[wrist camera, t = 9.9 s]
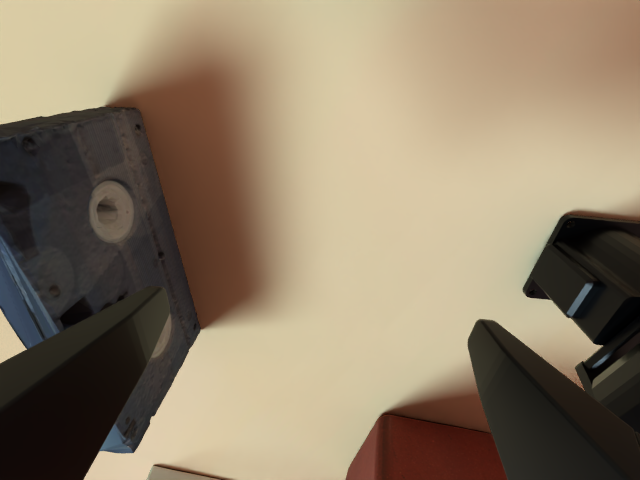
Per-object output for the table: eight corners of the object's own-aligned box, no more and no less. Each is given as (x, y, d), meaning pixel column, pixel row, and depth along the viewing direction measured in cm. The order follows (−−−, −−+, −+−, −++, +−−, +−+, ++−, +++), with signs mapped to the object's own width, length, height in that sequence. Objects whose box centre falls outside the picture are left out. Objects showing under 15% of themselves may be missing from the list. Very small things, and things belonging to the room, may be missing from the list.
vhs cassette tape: (99, 104, 18) (-125, 141, 9) (148, 105, 18) (-32, 145, 9) (169, 328, 27) (89, 452, 19) (202, 330, 27) (137, 455, 18)
